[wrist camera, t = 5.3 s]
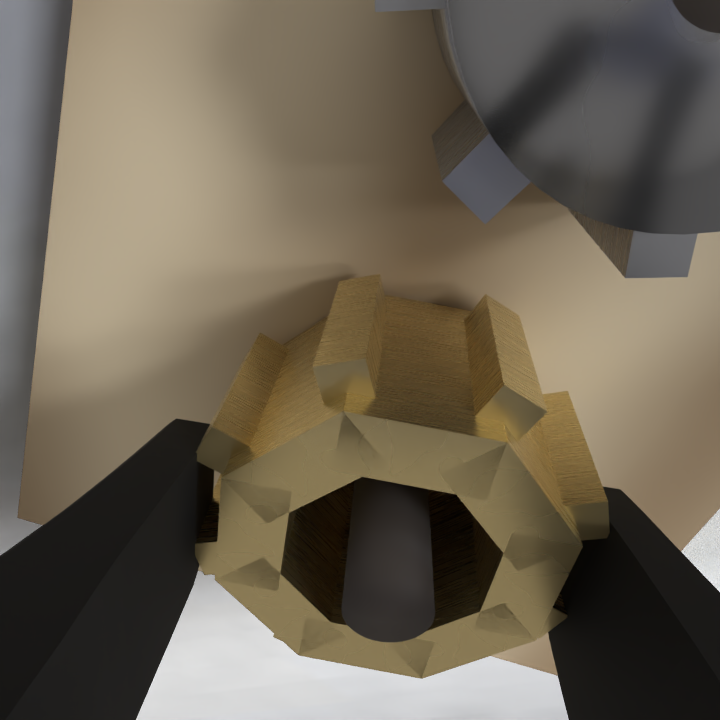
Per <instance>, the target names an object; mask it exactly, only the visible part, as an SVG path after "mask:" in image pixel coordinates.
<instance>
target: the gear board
mask: <svg viewBox="0 0 720 720" xmlns="http://www.w3.org/2000/svg"><path fill="white" fill-rule="evenodd" d="M672 1H673V3H674V5H675V6H676V8H677V10H678V11H679V12H680V14H681V15H682V16H683V17H684V18H685V19H686V20H687V21H689V22H690V23H691V24H693V25H694V26H696V27H698V28H700V29H703V30H705V31H708V32H713V33H720V0H672ZM464 100H465V99H464V97H463V96H462V94H461V93H460V91H459V89H458V88H457V86H456V84H455V83H454V81H453V79H452V78H451V75H450V73H449V71H448V68H447V66H446V64H445V61H444V59H443V57H442V54H441V50H440V47H439V43H438V40H437V37H436V33H435V27H434V21H433V15H432V9H426V10H406V11H386V12H375V0H73V6H72V15H71V24H70V34H69V43H68V52H67V62H66V71H65V80H64V90H63V99H62V108H61V117H60V127H59V136H58V145H57V155H56V164H55V173H54V183H53V192H52V201H51V210H50V220H49V229H48V238H47V248H46V257H45V266H44V276H43V285H42V294H41V304H40V313H39V322H38V331H37V341H36V350H35V359H34V369H33V378H32V387H31V397H30V406H29V415H28V425H27V434H26V443H25V452H24V462H23V471H22V480H21V490H20V499H19V508H18V518H20V519H24V520H27V521H30V522H34V523H37V524H41V525H44V524H45V523H47V522H48V521H50V520H51V519H52V518H54V517H55V516H56V515H58V514H59V513H61V512H62V511H63V510H65V509H66V508H67V507H68V506H70V505H71V504H72V503H74V502H75V501H76V500H77V499H79V498H80V497H81V496H82V495H84V494H85V493H86V492H87V491H89V490H90V489H91V488H93V487H94V486H95V485H96V484H98V483H99V482H100V481H101V480H103V479H104V478H105V477H106V476H108V475H109V474H110V473H111V472H113V471H114V470H115V469H116V468H117V467H119V466H120V465H121V464H122V463H123V462H125V461H126V460H127V459H128V458H129V457H131V456H132V455H133V454H134V453H135V452H136V451H138V450H139V449H140V448H141V447H142V446H143V445H145V444H146V443H147V442H148V441H149V440H150V439H152V438H153V437H154V436H155V435H156V434H157V433H158V432H160V431H161V430H162V429H163V428H164V427H165V426H167V425H168V424H169V423H170V422H172V421H173V420H175V419H176V418H177V419H183V420H189V421H195V422H202V423H208V424H210V423H211V421H212V419H213V417H214V415H215V413H216V411H217V409H218V407H219V405H220V404H221V402H222V400H223V398H224V396H225V394H226V392H227V390H228V388H229V386H230V384H231V382H232V380H233V378H234V376H235V375H236V373H237V371H238V369H239V367H240V365H241V363H242V361H243V359H244V358H245V356H246V354H247V353H248V351H249V349H250V348H251V346H252V345H253V343H254V341H255V340H256V338H257V336H258V335H259V333H262V334H264V335H266V336H267V337H269V338H271V339H273V340H274V341H276V342H278V343H279V344H281V345H282V344H284V343H286V342H287V341H289V340H290V339H292V338H294V337H295V336H297V335H299V334H300V333H302V332H303V331H305V330H307V329H308V328H310V327H311V326H313V325H315V324H316V323H318V322H319V321H321V320H323V319H324V318H326V317H327V316H329V313H330V310H331V307H332V303H333V300H334V297H335V294H336V291H337V288H338V284H339V281H343V280H349V279H354V278H359V277H365V276H370V275H376V274H380V275H381V280H382V284H383V288H384V293H385V295H390V296H395V297H400V298H406V299H411V300H416V301H421V302H427V303H432V304H437V305H443V306H448V307H453V308H458V309H464V310H469V311H472V310H473V309H474V307H475V306H476V305H477V304H478V302H479V301H480V300H481V299H482V298H483V296H484V295H485V294H487V295H488V296H490V297H491V298H493V299H494V300H496V301H498V302H499V303H501V304H502V305H504V306H505V307H507V308H509V309H510V310H512V311H513V312H515V313H516V314H518V315H519V317H520V320H521V323H522V327H523V330H524V334H525V337H526V340H527V344H528V347H529V350H530V354H531V357H532V361H533V364H534V367H535V371H536V374H537V377H538V381H539V384H540V388H541V391H542V394H548V393H555V392H562V391H568V393H569V396H570V398H571V401H572V404H573V407H574V409H575V412H576V415H577V418H578V420H579V423H580V426H581V429H582V431H583V434H584V437H585V439H586V442H587V445H588V448H589V450H590V453H591V456H592V459H593V461H594V464H595V467H596V470H597V472H598V475H599V478H600V481H601V483H602V486H603V487H610V488H616V489H621V490H622V491H623V492H624V493H625V494H626V495H627V496H628V497H629V498H630V499H631V500H632V501H633V502H634V503H635V504H636V505H637V506H638V507H639V508H640V509H641V510H642V511H643V512H644V513H645V514H646V515H647V516H648V517H649V518H650V519H651V520H652V522H653V523H654V524H655V525H656V526H657V527H658V528H659V529H660V530H661V531H662V532H663V533H664V534H665V535H666V536H667V537H668V538H669V540H670V541H671V542H672V543H673V544H674V545H675V546H676V547H677V548H678V549H679V550H680V551H682V550H683V548H684V547H685V546H686V545H687V544H688V543H689V542H690V541H691V540H692V538H693V537H694V536H695V535H696V534H697V533H698V532H699V531H700V530H701V528H702V527H703V526H704V525H705V524H706V523H707V522H708V521H709V520H710V518H711V517H712V516H713V515H714V514H715V513H716V512H717V511H718V510H719V508H720V231H719V232H710V233H698V234H697V239H696V243H695V247H694V252H693V256H692V260H691V264H690V269H689V273H688V277H668V278H625V277H624V276H623V275H622V274H621V273H620V271H619V270H618V269H617V268H616V267H615V265H614V264H613V263H612V262H611V261H610V259H609V258H608V257H607V256H606V255H605V253H604V252H603V251H602V250H601V249H600V247H599V246H598V245H597V244H596V243H595V241H594V240H593V239H592V238H591V237H590V235H589V234H588V233H587V232H586V231H585V229H584V228H583V227H582V226H581V225H580V223H579V222H578V221H577V220H576V219H575V218H574V216H573V215H572V214H571V213H570V212H569V210H568V208H567V207H565V206H564V205H562V204H561V203H559V202H558V201H556V200H555V199H553V198H552V197H550V196H549V195H547V194H546V193H544V192H543V191H541V190H540V189H539V188H537V187H536V186H535V185H534V184H533V183H532V182H530V183H529V184H528V185H527V186H526V187H525V188H524V189H523V190H522V191H520V192H519V193H518V194H517V195H516V196H515V197H514V198H513V199H512V200H511V201H510V202H509V203H508V204H507V205H506V206H504V207H503V208H502V209H501V210H500V211H499V212H498V213H497V214H496V215H495V216H494V217H493V218H492V219H491V220H490V221H488V222H487V223H486V224H484V223H483V222H482V221H481V220H480V219H479V218H478V217H477V216H476V215H475V214H474V213H473V212H472V211H471V210H470V209H469V208H468V207H467V206H466V205H465V204H464V203H463V202H462V201H461V200H460V199H459V198H458V197H457V196H456V195H455V194H454V193H453V192H452V191H451V190H450V189H449V188H448V187H447V186H446V185H445V184H444V183H443V182H442V179H441V175H440V171H439V166H438V162H437V158H436V154H435V149H434V145H433V141H432V137H431V135H432V134H433V133H434V132H435V131H436V130H437V129H438V128H439V127H440V126H441V125H442V124H443V123H444V121H445V120H446V119H447V118H448V117H449V116H450V115H451V114H452V113H453V112H454V111H455V110H456V109H457V108H458V107H459V106H460V104H461V103H462V102H463V101H464ZM220 474H221V473H219V472H217V471H215V470H214V488H215V485H216V483H217V481H218V478H219V476H220ZM214 488H213V490H214ZM198 571H202V569H201V567H200V565H199V568H198ZM202 572H203V571H202ZM212 575H215V574H212ZM342 616H343V619H344V621H345V622H346V624H347V625H348V626H349V627H350V628H351V629H352V630H353V631H354V632H356V633H357V634H359V635H361V636H363V637H365V638H368V639H371V640H374V641H379V642H402V641H407V640H410V639H413V638H416V637H418V636H420V635H421V634H423V633H424V632H425V631H427V630H428V629H429V627H430V626H431V625H432V623H433V621H434V618H435V600H434V582H433V564H432V546H431V528H430V510H429V492H428V489H424V488H419V487H414V486H409V485H403V484H398V483H393V482H388V481H382V480H377V479H372V478H367V477H361V478H359V479H357V480H355V481H354V489H353V499H352V509H351V518H350V528H349V538H348V548H347V558H346V568H345V578H344V588H343V598H342ZM491 656H493V657H496V658H499V659H503V660H506V661H510V662H513V663H517V664H520V665H523V666H527V667H530V668H534V669H537V670H540V671H544V672H547V673H551V674H554V675H558V674H557V670H556V666H555V662H554V658H553V654H552V649H551V645H550V641H549V635H548V633H546V634H545V635H544V636H542V637H541V638H537V640H536V641H533V642H530V643H527V644H524V645H521V646H518V647H515V648H512V649H509V650H506V651H503V652H500V653H497V654H494V655H491Z"/></svg>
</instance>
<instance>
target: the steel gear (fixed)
mask: <svg viewBox="0 0 720 720" xmlns="http://www.w3.org/2000/svg"><path fill="white" fill-rule="evenodd" d="M426 9H432V15H433V21H434V27H435V33H436V37H437V40H438V43H439V47H440V50H441V54H442V57H443V59H444V61H445V64H446V66H447V68H448V71H449V73H450V75H451V78H452V79H453V81H454V83H455V84H456V86H457V88H458V89H459V91H460V93H461V94H462V96H463V97H464V99H465V100H464V101H463V102H462V103H461V104H460V106H459V107H458V108H457V109H456V110H455V111H454V112H453V113H452V114H451V115H450V116H449V117H448V118H447V119H446V120H445V121H444V123H443V124H442V125H441V126H440V127H439V128H438V129H437V130H436V131H435V132H434V133H433V134H432V135H431V137H432V141H433V145H434V149H435V154H436V158H437V162H438V166H439V171H440V175H441V179H442V182H443V183H444V184H445V185H446V186H447V187H448V188H449V189H450V190H451V191H452V192H453V193H454V194H455V195H456V196H457V197H458V198H459V199H460V200H461V201H462V202H463V203H464V204H465V205H466V206H467V207H468V208H469V209H470V210H471V211H472V212H473V213H474V214H475V215H476V216H477V217H478V218H479V219H480V220H481V221H482V222H483V223H484V224H486V223H487V222H488V221H490V220H491V219H492V218H493V217H494V216H495V215H496V214H497V213H498V212H499V211H500V210H501V209H502V208H503V207H504V206H506V205H507V204H508V203H509V202H510V201H511V200H512V199H513V198H514V197H515V196H516V195H517V194H518V193H519V192H520V191H522V190H523V189H524V188H525V187H526V186H527V185H528V184H529V183H530V182H532V183H533V184H534V185H535V186H536V187H537V188H539V189H540V190H541V191H543V192H544V193H546V194H547V195H549V196H550V197H552V198H553V199H555V200H556V201H558V202H559V203H561V204H562V205H564V206H565V207H567V208H568V210H569V212H570V213H571V214H572V215H573V216H574V218H575V219H576V220H577V221H578V222H579V223H580V225H581V226H582V227H583V228H584V229H585V231H586V232H587V233H588V234H589V235H590V237H591V238H592V239H593V240H594V241H595V243H596V244H597V245H598V246H599V247H600V249H601V250H602V251H603V252H604V253H605V255H606V256H607V257H608V258H609V259H610V261H611V262H612V263H613V264H614V265H615V267H616V268H617V269H618V270H619V271H620V273H621V274H622V275H623V276H624V277H625V278H668V277H688V273H689V269H690V264H691V260H692V256H693V252H694V247H695V243H696V239H697V234H698V233H710V232H719V231H720V33H713V32H708V31H705V30H703V29H700V28H698V27H696V26H694V25H693V24H691V23H690V22H689V21H687V20H686V19H685V18H684V17H683V16H682V15H681V14H680V12H679V11H678V10H677V8H676V6H675V5H674V3H673V1H672V0H375V12H386V11H406V10H426Z"/></svg>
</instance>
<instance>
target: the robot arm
mask: <svg viewBox="0 0 720 720" xmlns="http://www.w3.org/2000/svg"><path fill="white" fill-rule="evenodd" d="M209 425H210V424H208V423H202V422H195V421H189V420H183V419H177V418H176V419H175V420H173V421H172V422H170V423H169V424H168V425H167V426H165V427H164V428H163V429H162V430H161V431H160V432H158V433H157V434H156V435H155V436H154V437H153V438H152V439H150V440H149V441H148V442H147V443H146V444H145V445H143V446H142V447H141V448H140V449H139V450H138V451H136V452H135V453H134V454H133V455H132V456H131V457H129V458H128V459H127V460H126V461H125V462H123V463H122V464H121V465H120V466H119V467H117V468H116V469H115V470H114V471H113V472H111V473H110V474H109V475H108V476H106V477H105V478H104V479H103V480H101V481H100V482H99V483H98V484H96V485H95V486H94V487H93V488H91V489H90V490H89V491H87V492H86V493H85V494H84V495H82V496H81V497H80V498H79V499H77V500H76V501H75V502H74V503H72V504H71V505H70V506H68V507H67V508H66V509H65V510H63V511H62V512H61V513H59V514H58V515H56V516H55V517H54V518H52V519H51V520H50V521H48V522H47V523H45V524H44V525H43V526H41V527H40V528H38V529H37V530H36V531H34V532H33V533H31V534H30V535H29V536H27V537H26V538H25V539H23V540H22V541H20V542H19V543H18V544H16V545H15V546H13V547H12V548H11V549H9V550H8V551H6V552H5V553H3V554H2V555H0V720H136V718H137V716H138V713H139V711H140V709H141V706H142V704H143V702H144V699H145V697H146V695H147V692H148V690H149V688H150V685H151V683H152V681H153V678H154V676H155V674H156V671H157V669H158V667H159V664H160V662H161V660H162V657H163V655H164V653H165V651H166V648H167V646H168V644H169V641H170V639H171V637H172V634H173V632H174V630H175V627H176V625H177V622H178V620H179V618H180V615H181V613H182V611H183V608H184V606H185V604H186V601H187V599H188V597H189V594H190V592H191V589H192V587H193V585H194V581H195V578H196V575H197V572H198V568H199V563H198V561H197V559H196V557H195V543H196V541H197V538H198V535H199V533H200V530H201V528H202V525H203V522H204V520H205V517H206V515H207V512H208V510H209V507H210V504H211V502H212V499H213V488H214V470H213V469H211V468H209V467H207V466H205V465H204V464H202V463H200V462H198V461H197V453H196V451H197V449H198V447H199V445H200V443H201V441H202V438H203V436H204V434H205V433H206V431H207V429H208V427H209ZM603 489H604V492H605V494H606V497H607V500H608V509H609V528H610V533H609V535H608V537H607V538H603V539H592V540H581V542H582V546H583V547H582V549H581V551H580V553H579V555H578V557H577V559H576V561H575V563H574V565H573V567H572V569H571V571H570V573H569V575H568V577H567V579H566V581H565V583H564V585H563V587H562V589H561V595H562V598H563V602H564V606H565V609H566V612H567V615H568V616H567V618H566V619H565V620H563V621H562V622H561V623H559V624H558V625H557V626H556V627H554V628H553V629H552V630H550V631H549V632H548V635H549V641H550V645H551V649H552V654H553V658H554V662H555V666H556V670H557V674H558V678H559V682H560V686H561V690H562V694H563V698H564V702H565V706H566V710H567V714H568V718H569V720H720V592H719V591H718V590H717V589H716V588H715V587H714V586H713V585H712V584H711V583H710V582H709V581H708V580H707V579H706V578H705V577H704V576H703V574H702V573H701V572H700V571H699V570H698V569H697V568H696V567H695V566H694V565H693V564H692V563H691V562H690V561H689V560H688V559H687V558H686V557H685V555H684V554H683V553H682V552H681V551H680V550H679V549H678V548H677V547H676V546H675V545H674V544H673V543H672V542H671V541H670V540H669V538H668V537H667V536H666V535H665V534H664V533H663V532H662V531H661V530H660V529H659V528H658V527H657V526H656V525H655V524H654V523H653V522H652V520H651V519H650V518H649V517H648V516H647V515H646V514H645V513H644V512H643V511H642V510H641V509H640V508H639V507H638V506H637V505H636V504H635V503H634V502H633V501H632V500H631V499H630V498H629V497H628V496H627V495H626V494H625V493H624V492H623V491H622V490H621V489H616V488H610V487H603Z"/></svg>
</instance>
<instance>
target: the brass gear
mask: <svg viewBox="0 0 720 720" xmlns="http://www.w3.org/2000/svg"><path fill="white" fill-rule="evenodd" d="M196 453H197V461H198V462H200V463H202V464H204V465H205V466H207V467H209V468H211V469H213V470H215V471H217V472H219V473H221V474H220V476H219V478H218V481H217V483H216V485H215V488H214V490H213V499H212V502H211V504H210V507H209V510H208V512H207V515H206V517H205V520H204V522H203V525H202V528H201V530H200V533H199V535H198V538H197V541H196V543H195V557H196V559H197V561H198V563H199V565H200V567H201V569H202V571H203V573H204V575H210V574H215V580H216V581H217V582H218V583H219V584H220V585H221V586H223V587H224V588H225V589H226V590H227V591H228V592H229V593H230V594H231V595H232V596H234V597H235V598H236V599H237V600H238V601H239V602H240V603H241V604H242V605H244V606H245V607H246V608H247V609H248V610H249V611H250V612H251V613H252V614H253V615H255V616H256V617H257V618H258V619H259V620H260V621H261V622H262V623H263V624H264V625H266V626H267V627H268V628H269V629H270V630H271V631H272V632H273V633H274V636H273V637H275V638H277V639H279V640H281V641H283V642H284V643H285V644H287V645H288V646H289V647H290V648H291V649H292V650H293V651H294V652H295V653H296V654H298V655H300V656H305V657H310V658H316V659H321V660H326V661H331V662H337V663H342V664H347V665H352V666H358V667H363V668H368V669H374V670H379V671H384V672H389V673H395V674H400V675H405V676H411V677H416V678H421V679H422V678H425V677H428V676H431V675H434V674H437V673H440V672H443V671H446V670H449V669H452V668H455V667H458V666H461V665H464V664H467V663H470V662H473V661H476V660H479V659H482V658H485V657H488V656H491V655H494V654H497V653H500V652H503V651H506V650H509V649H512V648H515V647H518V646H521V645H524V644H527V643H530V642H533V641H536V640H537V638H541V637H542V636H544V635H545V634H546V633H548V632H549V631H550V630H552V629H553V628H554V627H556V626H557V625H558V624H559V623H561V622H562V621H563V620H565V619H566V618H567V616H568V615H567V612H566V609H565V606H564V602H563V598H562V595H561V589H562V587H563V585H564V583H565V581H566V579H567V577H568V575H569V573H570V571H571V569H572V567H573V565H574V563H575V561H576V559H577V557H578V555H579V553H580V551H581V549H582V547H583V546H582V542H581V540H592V539H603V538H607V537H608V535H609V533H610V528H609V509H608V500H607V497H606V494H605V492H604V489H603V486H602V483H601V481H600V478H599V475H598V472H597V470H596V467H595V464H594V461H593V459H592V456H591V453H590V450H589V448H588V445H587V442H586V439H585V437H584V434H583V431H582V429H581V426H580V423H579V420H578V418H577V415H576V412H575V409H574V407H573V404H572V401H571V398H570V396H569V393H568V391H562V392H555V393H548V394H542V391H541V388H540V384H539V381H538V377H537V374H536V371H535V367H534V364H533V361H532V357H531V354H530V350H529V347H528V344H527V340H526V337H525V334H524V330H523V327H522V323H521V320H520V317H519V315H518V314H516V313H515V312H513V311H512V310H510V309H509V308H507V307H505V306H504V305H502V304H501V303H499V302H498V301H496V300H494V299H493V298H491V297H490V296H488V295H487V294H485V295H484V296H483V298H482V299H481V300H480V301H479V302H478V304H477V305H476V306H475V307H474V309H473V310H472V311H469V310H464V309H458V308H453V307H448V306H443V305H437V304H432V303H427V302H421V301H416V300H411V299H406V298H400V297H395V296H390V295H385V293H384V288H383V284H382V280H381V275H380V274H376V275H370V276H365V277H359V278H354V279H349V280H343V281H339V284H338V288H337V291H336V294H335V297H334V300H333V303H332V307H331V310H330V313H329V316H327V317H326V318H324V319H323V320H321V321H319V322H318V323H316V324H315V325H313V326H311V327H310V328H308V329H307V330H305V331H303V332H302V333H300V334H299V335H297V336H295V337H294V338H292V339H290V340H289V341H287V342H286V343H284V344H282V345H281V344H279V343H278V342H276V341H274V340H273V339H271V338H269V337H267V336H266V335H264V334H262V333H259V335H258V336H257V338H256V340H255V341H254V343H253V345H252V346H251V348H250V349H249V351H248V353H247V354H246V356H245V358H244V359H243V361H242V363H241V365H240V367H239V369H238V371H237V373H236V375H235V376H234V378H233V380H232V382H231V384H230V386H229V388H228V390H227V392H226V394H225V396H224V398H223V400H222V402H221V404H220V405H219V407H218V409H217V411H216V413H215V415H214V417H213V419H212V421H211V423H210V425H209V427H208V429H207V431H206V433H205V434H204V436H203V438H202V441H201V443H200V445H199V447H198V449H197V451H196ZM361 477H367V478H372V479H377V480H382V481H388V482H393V483H398V484H403V485H409V486H414V487H419V488H424V489H428V492H429V510H430V528H431V546H432V564H433V582H434V600H435V618H434V621H433V623H432V625H431V626H430V627H429V629H428V630H427V631H425V632H424V633H423V634H421V635H420V636H418V637H416V638H413V639H410V640H407V641H402V642H379V641H374V640H371V639H368V638H365V637H363V636H361V635H359V634H357V633H356V632H354V631H353V630H352V629H351V628H350V627H349V626H348V625H347V624H346V622H345V621H344V619H343V616H342V598H343V588H344V578H345V568H346V558H347V548H348V538H349V528H350V518H351V509H352V499H353V489H354V481H355V480H357V479H359V478H361Z"/></svg>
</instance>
